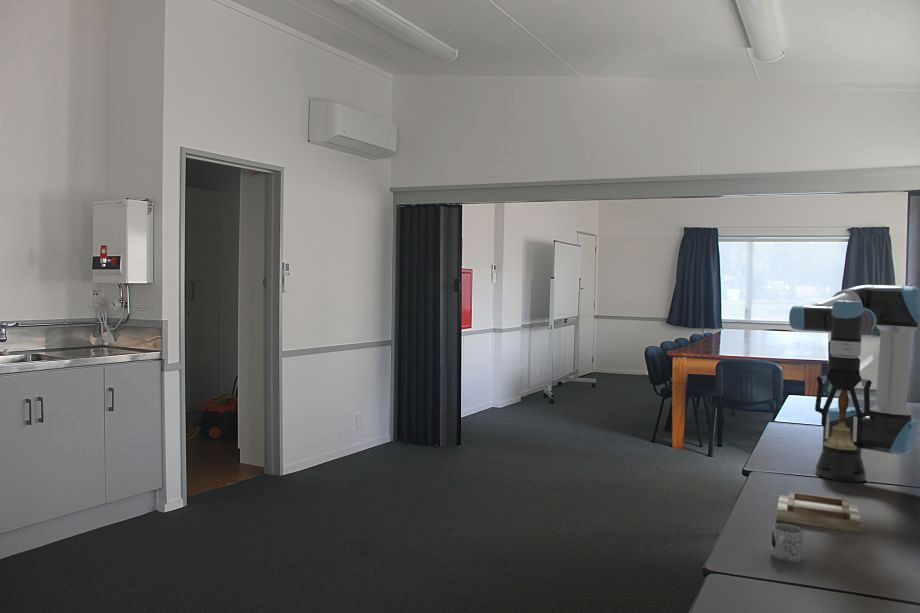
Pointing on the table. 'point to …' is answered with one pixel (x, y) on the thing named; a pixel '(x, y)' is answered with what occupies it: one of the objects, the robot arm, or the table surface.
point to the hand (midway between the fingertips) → (840, 439)
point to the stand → (819, 511)
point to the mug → (787, 542)
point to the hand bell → (841, 427)
